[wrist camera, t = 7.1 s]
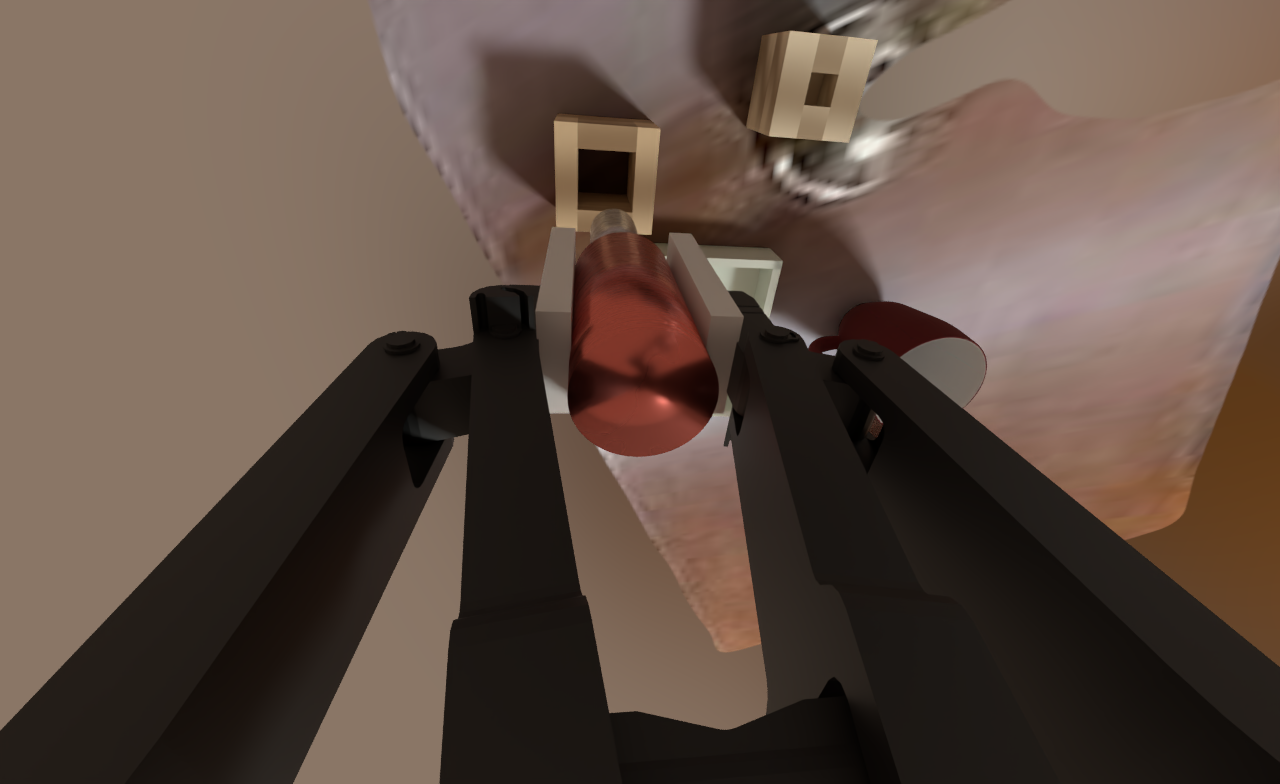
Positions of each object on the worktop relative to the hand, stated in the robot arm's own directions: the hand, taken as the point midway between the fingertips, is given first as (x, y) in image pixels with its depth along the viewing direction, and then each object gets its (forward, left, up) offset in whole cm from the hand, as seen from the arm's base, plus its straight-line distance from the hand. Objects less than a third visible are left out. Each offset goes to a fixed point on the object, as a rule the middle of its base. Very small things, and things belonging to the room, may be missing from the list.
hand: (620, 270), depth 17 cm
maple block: (-6, +12, -20) cm, 24 cm away
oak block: (0, 0, -20) cm, 20 cm away
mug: (+11, +22, -20) cm, 32 cm away
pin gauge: (0, 0, -5) cm, 5 cm away
